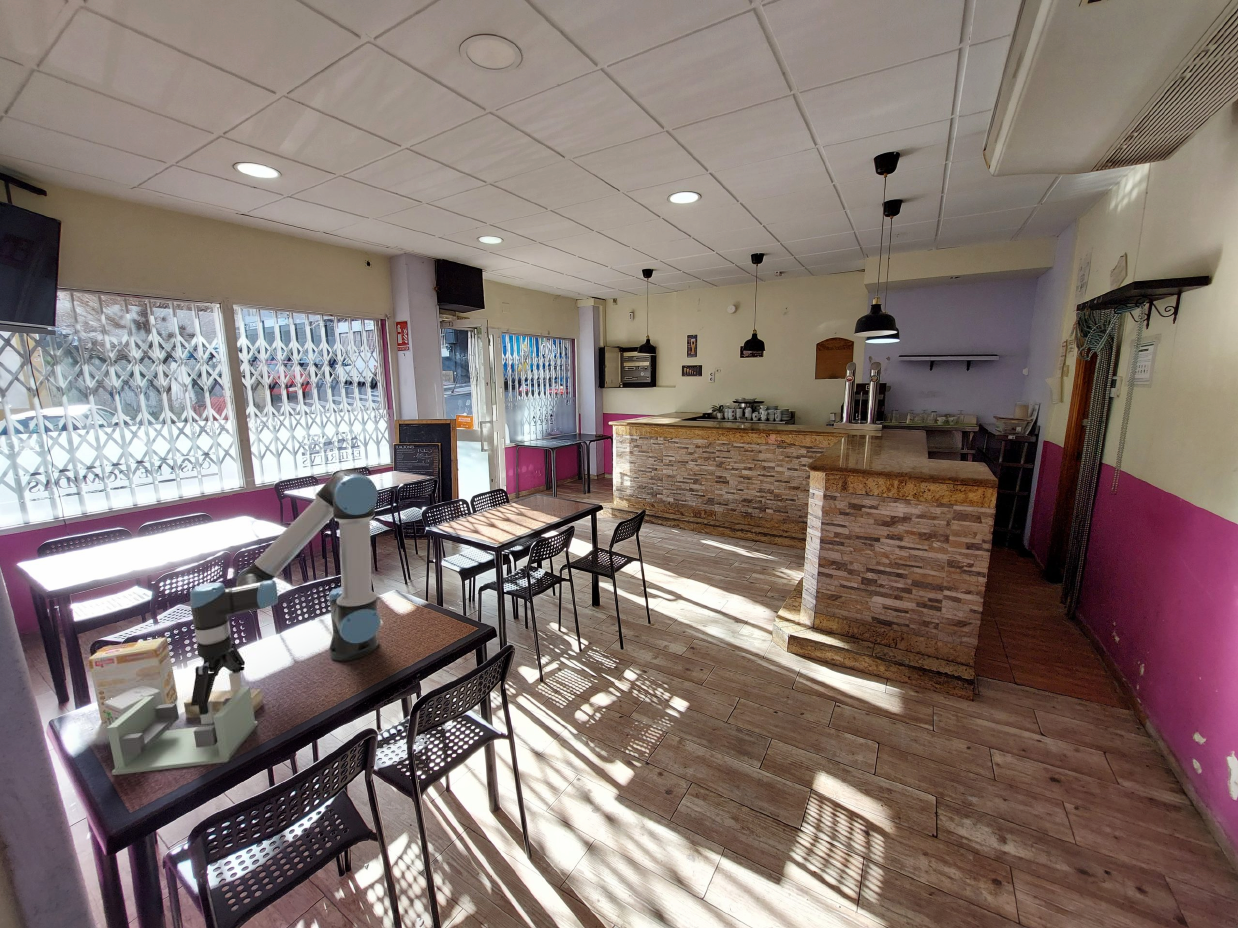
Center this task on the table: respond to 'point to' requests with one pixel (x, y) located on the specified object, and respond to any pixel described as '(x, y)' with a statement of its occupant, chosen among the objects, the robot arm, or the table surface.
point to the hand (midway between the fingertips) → (223, 707)
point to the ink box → (129, 701)
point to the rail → (218, 699)
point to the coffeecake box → (132, 670)
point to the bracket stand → (178, 736)
